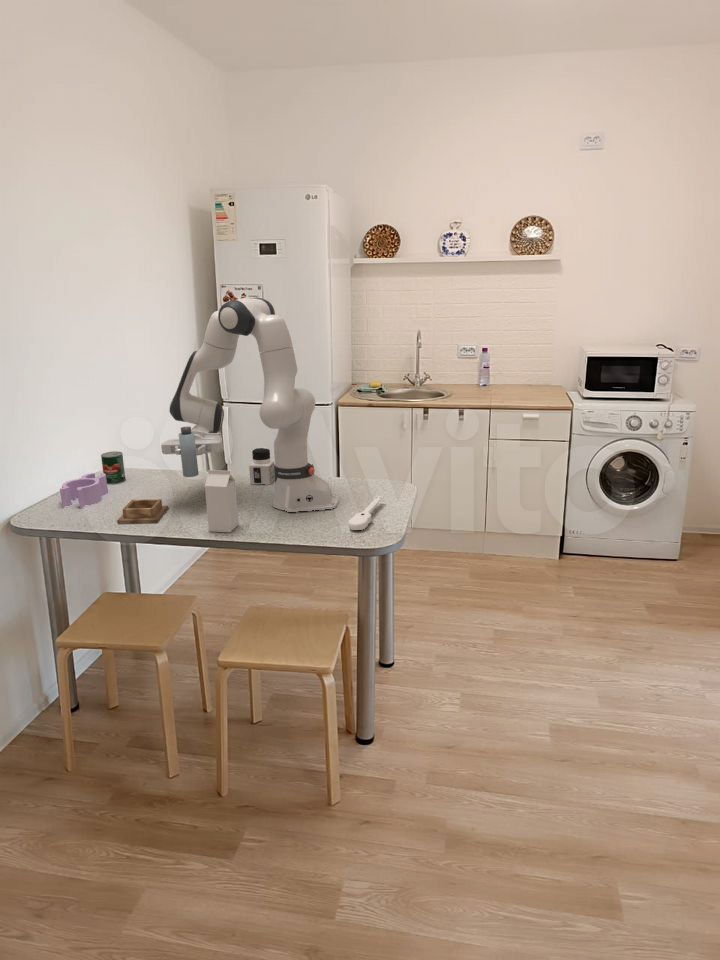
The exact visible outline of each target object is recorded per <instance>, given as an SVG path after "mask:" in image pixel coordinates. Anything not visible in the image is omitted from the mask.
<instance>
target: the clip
mask: <svg viewBox="0 0 720 960" xmlns="http://www.w3.org/2000/svg"><path fill="white" fill-rule="evenodd" d="M108 493H109V490H108V484H107V481H106V474H105V473H103V472H102V473H100V476H98V477H96V474H95V472H91V473H86V474H84V475H82V476H81V477H79V478H75V479H71V480H68V481H65V482H64V483H62V484H61V488H59V494H60V499H61V506H63V507H65V506H70V505H72V506H73V502H72V501H73V500H72V499H74V500H76V498H78V499H77V500H78V505H79V508H80V509H84V508H85V507H86V506H85V505H90V506H92V505H91V504H94V505H96V504H98V502H99V503H100V502H101V501H102V500H103V497H102V496H105V495H107V494H108ZM71 500H72V501H71ZM95 503H96V504H95ZM84 506H85V507H84ZM63 507H62V508H63ZM70 507H71V506H70ZM83 507H84V508H83Z"/></svg>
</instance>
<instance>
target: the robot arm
mask: <svg viewBox="0 0 720 960" xmlns="http://www.w3.org/2000/svg"><path fill="white" fill-rule="evenodd" d="M249 335H252V336H253V337H254V338H255V341H256V343H257V347H258V348H257V349H258V353H259V358H260V362H261V367H262V372H263V381H264V384H263V387H264V388H263V399H262V403H261V405H260V406H259V407H260V408H259V417H260V420H261V422H262V423H263V425H265V426H266V427H267V428H269V429H275V430H277V429H278V431H277V433H276V436H275V439H274V442H273V453H274V479H275V480H274V482H275V485H274V495H273V497H274V498H273V501H272V507H274V508H275V509H277V510H282V511H284V510H285V512H286V511H287V512H286V513H288V512H296V513H299V512H298V511H308V512H316V511H315V510H319V511H326V510H325V509H331V510H334V509H335V508H336V506H338V505H339V498H338V496H337V495H335V494H332V490H331V489H332V488H331V487H330V485H329V483H328V482H327V481H326V480H324V479H323V478H321V477H319V476H318V475H316V474H315V466H314V464H313V463H312V464H311V463H309V462H308V436H309V431H310V424H311V418H312V415H313V413H314V411H315V408H316V399H315V397H314V395H313V394H312V392H311V391H310V390H308V389H304V388H299V387H298V388H296V387H295V381H296V376H297V373H298V364H297V359H296V356H295V350H294V346H293V342H292V337H291V335H290V331H289V329H288V326H287V323H286V321H285V319H284V318H283V317H281V316H280V315H277V314H276V312H275V309H274V306H273V304H272V303H271V302H270V301H268V300H267V299H264V298H260V297H255V298H253V297H252V298H249V297H243V298H238V299H232V300H231V299H230V300H228V301H227V302H225V303H224V304H223V303H222V305H221V306H220V308H219V310H216V311H214V312H213V313H211V316H210V318H209V320H208V323H207V325H206V329H205V333H204V336H203V337H204V338H203V342H202V345H201V347H200V348H199V349H198V350H194V351H193V352H192V353H191V355H190V356H189V358H188V361H187V363H186V365H185V367H184V370H183V373H182V374H181V377H180V381H179V383H178V385H177V389H176V391H175V393H174V396H173V397H172V399H171V401H170V403H169V410H168V411H169V413H170V415H171V417H172V418H173V419H174V420H175V421H178V422H184V423H189V424H193V425H194V426H193V427H191V432H194V435H195V445H196V449H195V454H197V456H202V455H204V454H211V453H212V454H213V453H214V454H215V453H222V452H223V451H224V444H223V443H224V442H223V437H222V433H221V432H220V430H221V428H222V426H223V421H224V420H225V419H224V418H225V411H224V409H223V406H222V405H221V403H220V402H219V401H215V400H212V399H208V398H204V397H200V396H196V395H193V394H191V391H190V390H191V388H192V386H193V383H194V381H195V377H196V375H197V374H198V373H200V372H204V371H214V370H215V371H216V370H220V369H224V368H226V367H227V366H229V365H230V364H231V363H232V362H234V361H233V360H234V358H235V355H236V351H237V347H238V340H239V337H240V336H246V337H248V336H249ZM160 447H161V452H162V454H163V455H176V456H178V455H179V456H181V452H180V443H179V438H174V439H172V438H171V439H168V440H165V441H164V442H162V443H161V445H160ZM333 508H334V509H333ZM312 510H314V511H312Z"/></svg>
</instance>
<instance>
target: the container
mask: <svg viewBox="0 0 720 960" xmlns="http://www.w3.org/2000/svg"><path fill="white" fill-rule="evenodd" d="M251 452H252V462H251V463H250V464H249V465H248V470H249V480H250V481H249V483H250V485H251V484H265V485H264V486H270V485H271V484H272V483H273V482H275V479H274V465H275V459H271V451H270V449H269V448H267V447H256V448H254V449H252V451H251Z"/></svg>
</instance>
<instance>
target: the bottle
mask: <svg viewBox="0 0 720 960" xmlns="http://www.w3.org/2000/svg"><path fill="white" fill-rule="evenodd" d="M191 429H192V427H191V426H182V427H181V426H180V433H178V439H179V443H180V452H181V455H180V459H181V469H182V476H183V477H184V478H193V477H196V476H199V473H200V472H199V464H198V457H197V456H198V455H197V454H195V449H196V445H195V435H194V432H191Z"/></svg>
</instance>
